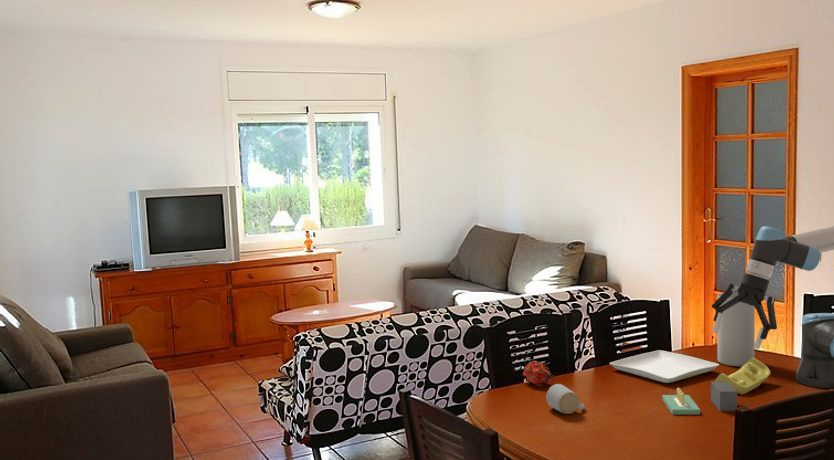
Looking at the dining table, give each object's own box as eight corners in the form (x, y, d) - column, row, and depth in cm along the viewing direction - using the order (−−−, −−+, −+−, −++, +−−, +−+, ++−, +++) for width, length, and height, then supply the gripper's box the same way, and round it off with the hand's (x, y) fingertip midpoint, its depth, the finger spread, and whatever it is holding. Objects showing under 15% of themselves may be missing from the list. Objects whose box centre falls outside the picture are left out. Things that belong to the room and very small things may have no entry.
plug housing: (707, 396, 243) (707, 378, 242) (723, 396, 242) (723, 378, 242) (719, 411, 229) (719, 391, 229) (737, 411, 229) (737, 391, 228)
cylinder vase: (751, 368, 272) (751, 299, 269) (714, 364, 278) (714, 297, 276) (757, 360, 282) (757, 293, 280) (721, 356, 289) (721, 291, 287)
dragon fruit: (526, 383, 270) (550, 396, 260) (512, 373, 265) (535, 386, 255) (539, 362, 271) (562, 374, 261) (525, 352, 266) (548, 364, 257)
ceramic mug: (560, 417, 229) (560, 392, 229) (545, 409, 237) (545, 385, 236) (590, 412, 233) (589, 387, 233) (574, 404, 241) (574, 380, 240)
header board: (688, 399, 241) (688, 384, 240) (700, 414, 227) (700, 398, 226) (662, 399, 242) (662, 384, 241) (672, 414, 228) (672, 398, 227)
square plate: (659, 358, 291) (659, 348, 291) (721, 374, 268) (721, 363, 268) (608, 371, 277) (608, 360, 277) (669, 388, 254) (668, 377, 254)
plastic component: (744, 389, 242) (717, 370, 249) (735, 406, 245) (709, 387, 252) (775, 372, 254) (749, 354, 260) (767, 389, 257) (741, 371, 264)
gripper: (714, 262, 243) (693, 325, 244) (793, 286, 225) (769, 354, 226) (725, 265, 248) (704, 327, 249) (802, 289, 230) (779, 355, 231)
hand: (735, 340), depth 238 cm, fingers open, 13 cm apart
